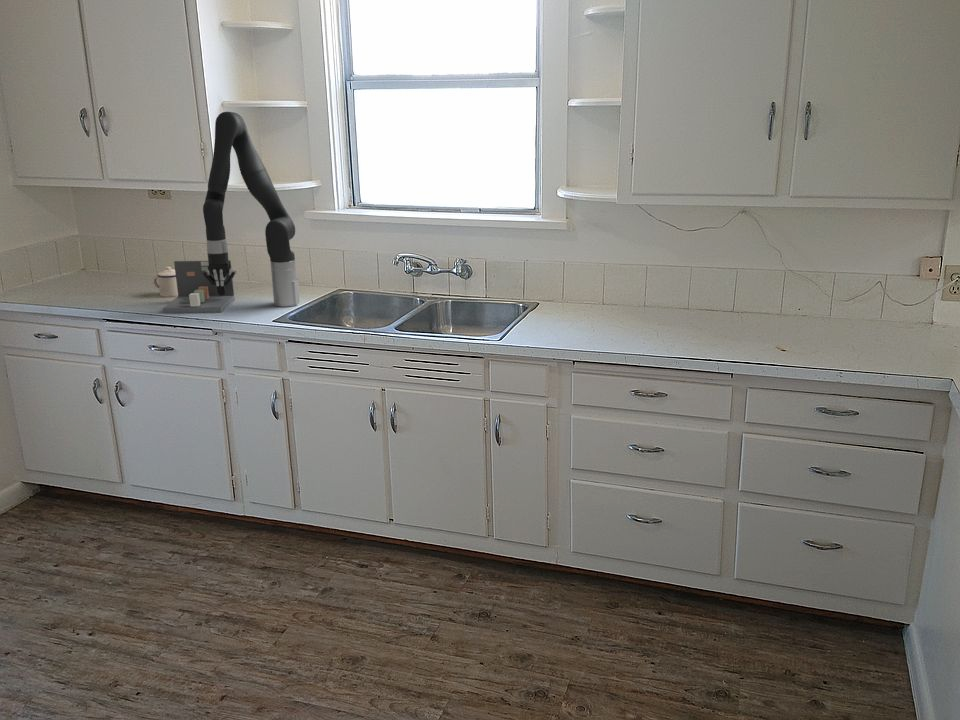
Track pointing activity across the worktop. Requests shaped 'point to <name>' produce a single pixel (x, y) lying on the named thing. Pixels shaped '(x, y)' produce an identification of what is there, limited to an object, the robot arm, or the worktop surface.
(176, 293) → the teacup with lid
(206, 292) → the terracotta slider
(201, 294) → the sage slider
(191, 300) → the cream slider
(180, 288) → the switch unit
